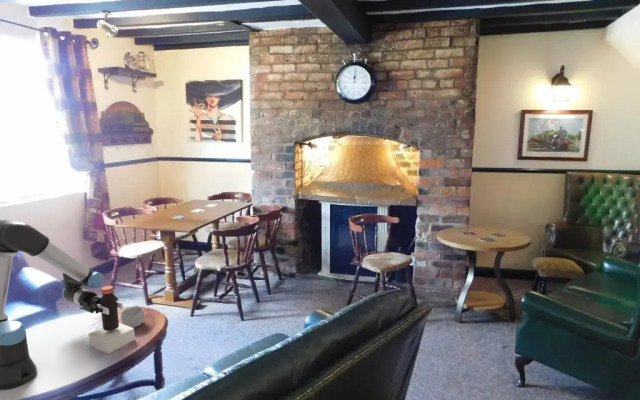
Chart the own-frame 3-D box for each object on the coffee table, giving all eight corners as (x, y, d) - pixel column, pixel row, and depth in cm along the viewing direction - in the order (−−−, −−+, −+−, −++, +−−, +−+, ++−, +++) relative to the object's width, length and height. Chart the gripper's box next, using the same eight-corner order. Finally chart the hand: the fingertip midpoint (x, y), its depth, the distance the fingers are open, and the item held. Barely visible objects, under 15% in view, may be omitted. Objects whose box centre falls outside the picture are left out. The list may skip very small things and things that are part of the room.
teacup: (139, 330, 215) (137, 315, 214) (118, 330, 216) (116, 315, 214) (150, 317, 229) (149, 303, 228) (130, 317, 229) (128, 303, 228)
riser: (108, 353, 195) (106, 341, 193) (89, 345, 202) (88, 333, 201) (135, 339, 206) (133, 328, 205) (117, 332, 213) (115, 321, 212)
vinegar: (115, 323, 207) (111, 283, 204) (121, 327, 203) (117, 287, 199) (100, 327, 203) (96, 287, 199) (106, 332, 198) (102, 291, 194)
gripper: (105, 298, 218) (134, 308, 207) (67, 313, 202) (96, 324, 191) (103, 284, 217) (132, 293, 205) (64, 298, 201) (94, 309, 189)
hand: (115, 308), depth 198 cm, fingers closed on vinegar, 6 cm apart
